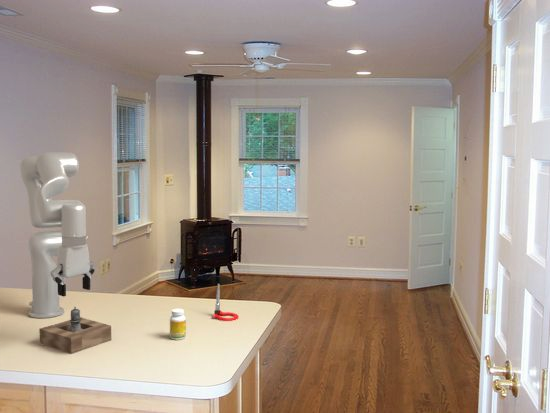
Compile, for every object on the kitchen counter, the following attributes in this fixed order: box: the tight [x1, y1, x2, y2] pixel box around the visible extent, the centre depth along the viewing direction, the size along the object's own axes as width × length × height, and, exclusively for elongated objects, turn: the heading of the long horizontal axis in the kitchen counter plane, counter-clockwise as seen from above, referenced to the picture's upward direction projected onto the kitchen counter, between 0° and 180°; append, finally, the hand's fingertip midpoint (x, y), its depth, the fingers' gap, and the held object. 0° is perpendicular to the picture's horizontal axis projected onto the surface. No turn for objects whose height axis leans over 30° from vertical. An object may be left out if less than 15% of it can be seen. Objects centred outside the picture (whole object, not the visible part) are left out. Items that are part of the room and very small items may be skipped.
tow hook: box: [211, 283, 240, 322], centre depth 227 cm, size 8×13×9 cm
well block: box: [39, 316, 112, 355], centre depth 198 cm, size 16×16×5 cm
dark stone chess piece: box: [68, 306, 84, 333], centre depth 198 cm, size 6×6×12 cm
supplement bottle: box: [169, 308, 187, 341], centre depth 204 cm, size 5×5×10 cm
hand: (74, 292), depth 197 cm, fingers open, 9 cm apart
